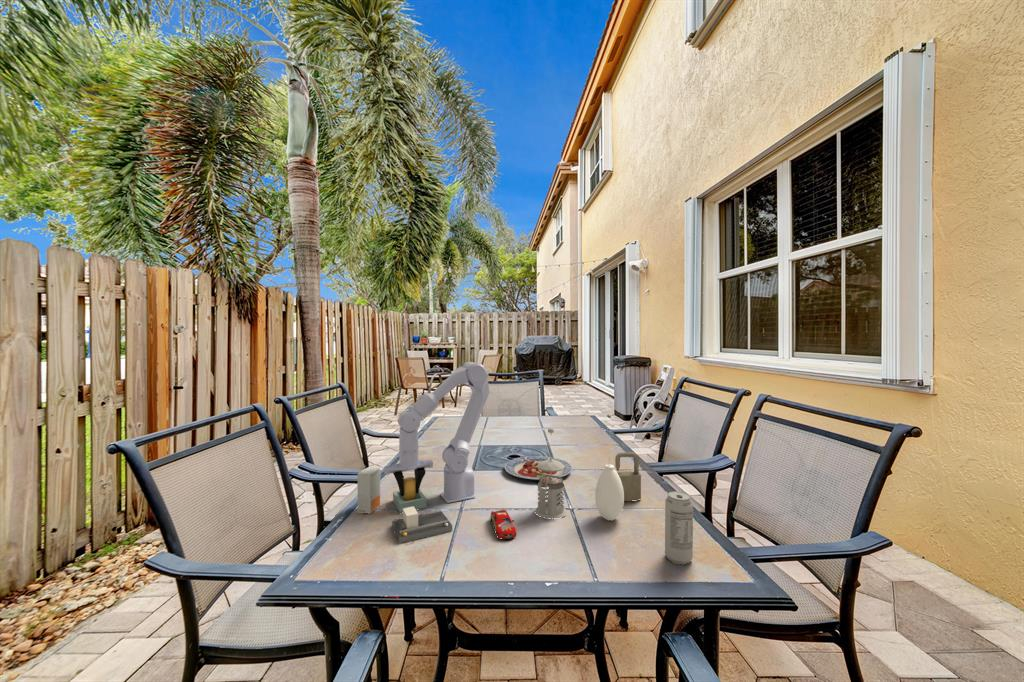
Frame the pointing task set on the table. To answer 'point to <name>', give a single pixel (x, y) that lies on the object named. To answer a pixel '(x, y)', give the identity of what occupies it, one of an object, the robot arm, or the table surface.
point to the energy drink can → (679, 527)
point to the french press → (551, 490)
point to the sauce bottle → (609, 493)
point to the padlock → (630, 477)
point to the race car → (503, 524)
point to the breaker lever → (410, 517)
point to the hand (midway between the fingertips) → (409, 493)
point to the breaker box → (422, 527)
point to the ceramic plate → (534, 467)
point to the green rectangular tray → (417, 503)
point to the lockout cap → (409, 489)
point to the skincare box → (368, 490)
